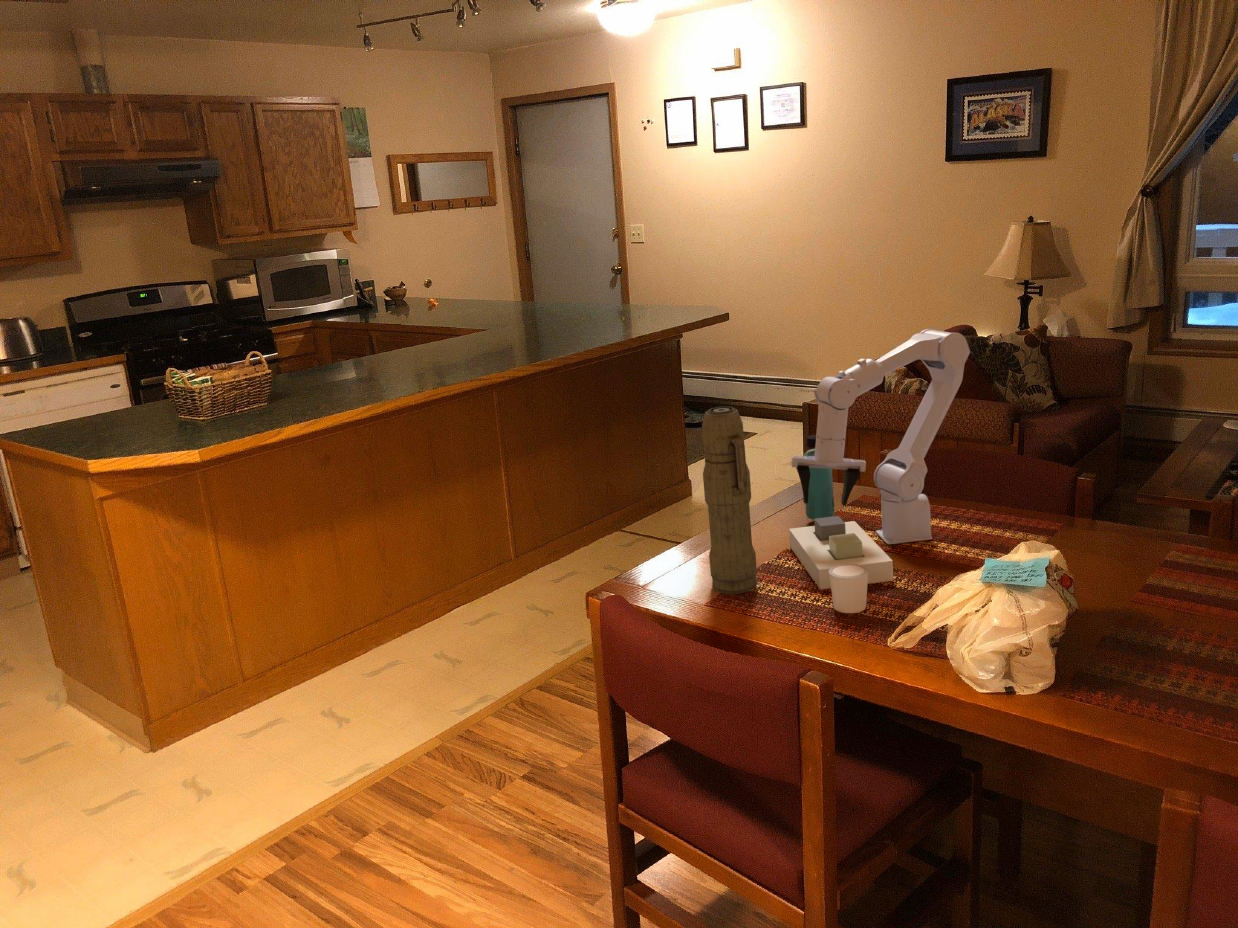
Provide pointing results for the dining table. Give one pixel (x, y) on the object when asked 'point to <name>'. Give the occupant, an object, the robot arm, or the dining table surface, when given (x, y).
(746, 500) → the thermos
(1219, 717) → the dining table surface
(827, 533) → the charcoal key
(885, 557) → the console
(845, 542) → the sage key
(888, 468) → the robot arm
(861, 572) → the white cup
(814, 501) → the beverage bottle
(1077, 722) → the dining table surface
